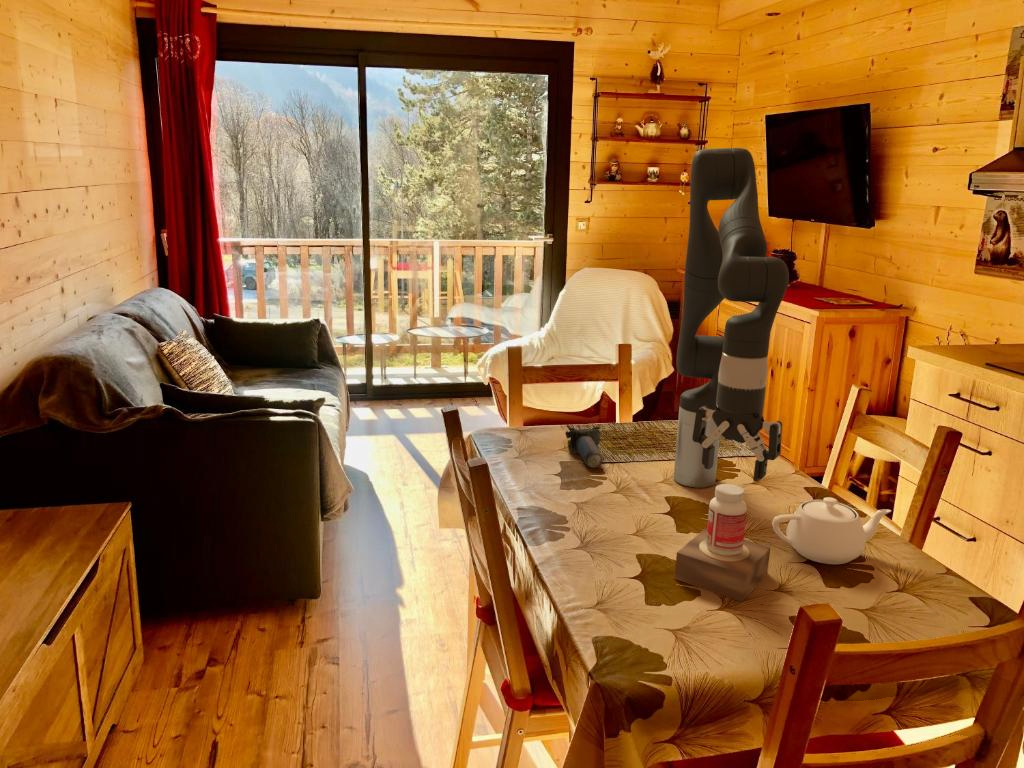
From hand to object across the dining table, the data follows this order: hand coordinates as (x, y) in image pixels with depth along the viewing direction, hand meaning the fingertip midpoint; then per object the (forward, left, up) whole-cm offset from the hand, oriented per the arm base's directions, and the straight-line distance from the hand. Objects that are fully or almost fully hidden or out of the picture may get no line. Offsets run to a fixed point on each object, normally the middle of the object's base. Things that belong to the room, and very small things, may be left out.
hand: (732, 473), depth 135 cm
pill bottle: (0, 0, -14) cm, 14 cm away
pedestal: (0, 0, -19) cm, 19 cm away
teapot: (-21, +12, -19) cm, 31 cm away
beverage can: (-34, -47, -20) cm, 62 cm away
